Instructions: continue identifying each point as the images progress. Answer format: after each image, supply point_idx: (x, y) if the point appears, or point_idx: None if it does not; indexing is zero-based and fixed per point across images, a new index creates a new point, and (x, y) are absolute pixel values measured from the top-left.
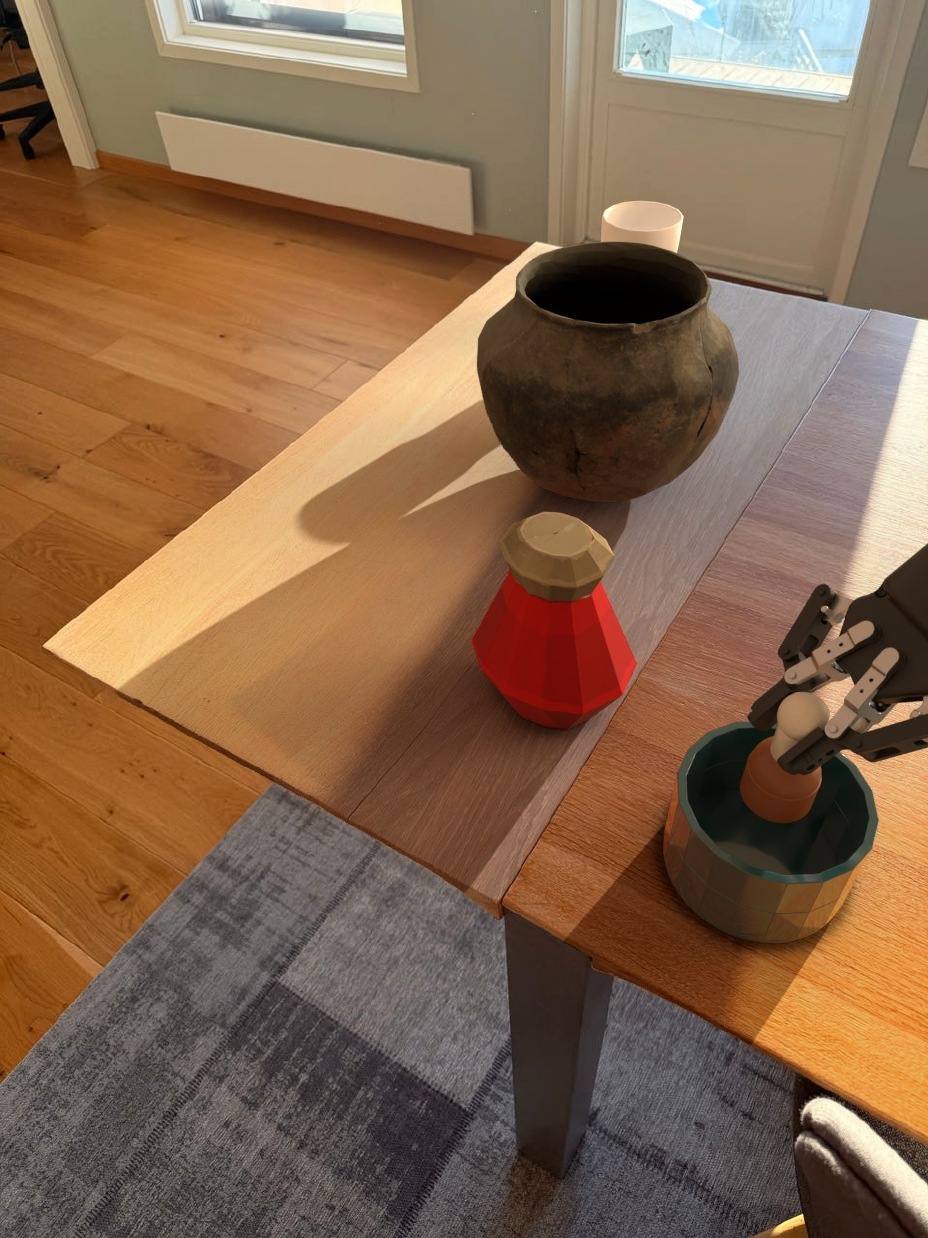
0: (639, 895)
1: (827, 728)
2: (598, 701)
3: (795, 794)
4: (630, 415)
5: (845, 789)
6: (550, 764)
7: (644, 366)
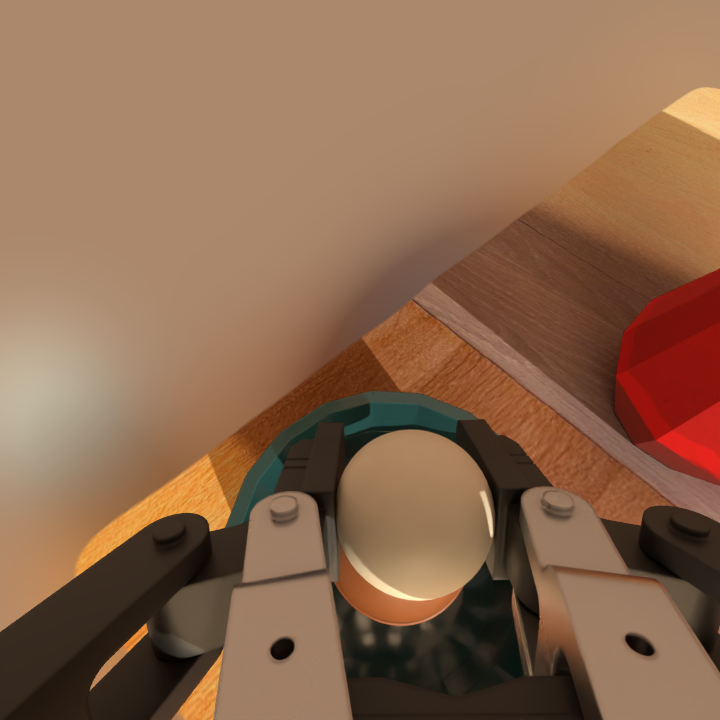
0: None
1: (301, 499)
2: (638, 396)
3: None
4: None
5: None
6: (560, 379)
7: None
